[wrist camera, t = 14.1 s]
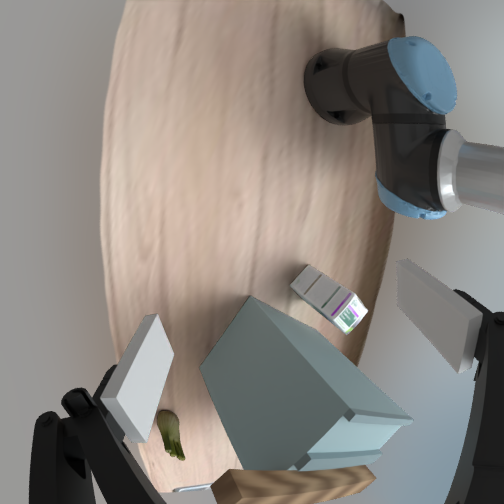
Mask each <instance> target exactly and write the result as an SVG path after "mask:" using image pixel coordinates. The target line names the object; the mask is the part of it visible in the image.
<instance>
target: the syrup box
mask: <svg viewBox="0 0 504 504" xmlns="http://www.w3.org/2000/svg"><path fill="white" fill-rule="evenodd" d="M290 287H291V288H292V289H293V290H294V291H295V292H296V293H297V294H298V295H299V296H300V297H301V298H302V299H303V300H304V301H305V302H306V303H308V304H309V305H310V306H311V307H313V308H314V309H315V310H316V311H317V312H319V313H320V314H321V315H322V316H324V317H325V318H326V319H327V320H329V321H330V322H331V323H332V324H334V325H335V326H336V327H337V328H339V329H340V330H341V331H342V332H343V333H345V334H346V335H347V334H349V333H350V332H351V331H352V330H353V329H354V328H355V327H356V325H357V324H358V323H359V322H360V321H361V319H362V318H363V317H364V315H365V314H366V313H367V312H368V311H367V309H366V308H365V306H364V305H363V303H362V302H361V300H360V299H359V298H358V297H357V295H356V294H355V293H354V292H352V291H350V290H349V289H347V288H346V287H344V286H342V285H341V284H339V283H338V282H336V281H335V280H333V279H331V278H330V277H328V276H327V275H325V274H323V273H322V272H320V271H319V270H317V269H315V268H314V267H312V266H310V265H308V266H307V267H306V268H305V269H304V270H303V271H302V272H301V273H300V274H299V275H298V276H297V278H296V279H295V280H294V281H293V282H292V283H291V284H290Z"/></svg>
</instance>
